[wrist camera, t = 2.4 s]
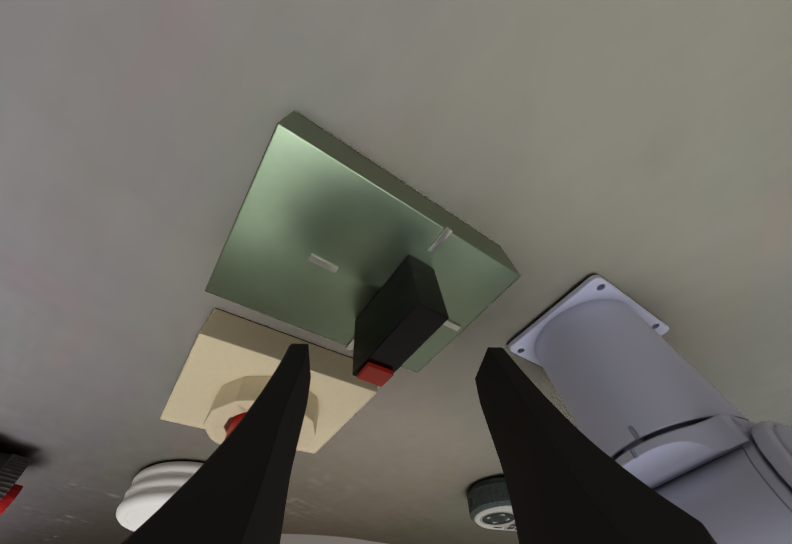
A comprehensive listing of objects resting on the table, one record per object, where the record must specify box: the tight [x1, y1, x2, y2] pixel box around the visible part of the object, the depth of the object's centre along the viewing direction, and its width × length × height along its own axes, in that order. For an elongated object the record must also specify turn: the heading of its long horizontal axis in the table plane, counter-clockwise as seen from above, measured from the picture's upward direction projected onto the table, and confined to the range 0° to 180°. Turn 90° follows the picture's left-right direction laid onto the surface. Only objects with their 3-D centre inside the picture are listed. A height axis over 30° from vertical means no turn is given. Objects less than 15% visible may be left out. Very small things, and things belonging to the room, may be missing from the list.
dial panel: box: [205, 111, 520, 372], centre depth 17 cm, size 13×9×3 cm
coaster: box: [116, 461, 204, 531], centre depth 31 cm, size 10×10×4 cm
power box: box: [160, 309, 377, 454], centre depth 22 cm, size 12×10×4 cm
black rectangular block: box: [352, 255, 449, 387], centre depth 14 cm, size 5×2×4 cm, turn 146°
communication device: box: [467, 477, 517, 531], centre depth 37 cm, size 12×24×9 cm, turn 78°
